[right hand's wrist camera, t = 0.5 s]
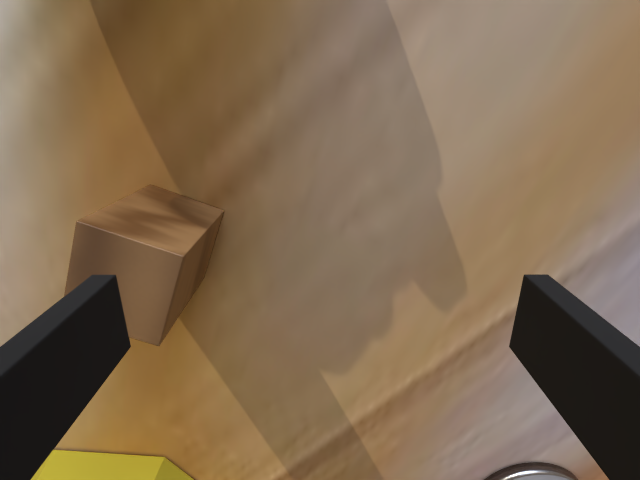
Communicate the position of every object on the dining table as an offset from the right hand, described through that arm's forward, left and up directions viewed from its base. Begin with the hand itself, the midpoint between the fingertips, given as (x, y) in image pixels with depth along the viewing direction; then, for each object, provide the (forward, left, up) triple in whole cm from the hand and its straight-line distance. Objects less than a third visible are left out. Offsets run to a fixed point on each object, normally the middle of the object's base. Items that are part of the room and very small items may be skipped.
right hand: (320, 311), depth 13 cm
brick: (-3, +15, -25) cm, 30 cm away
